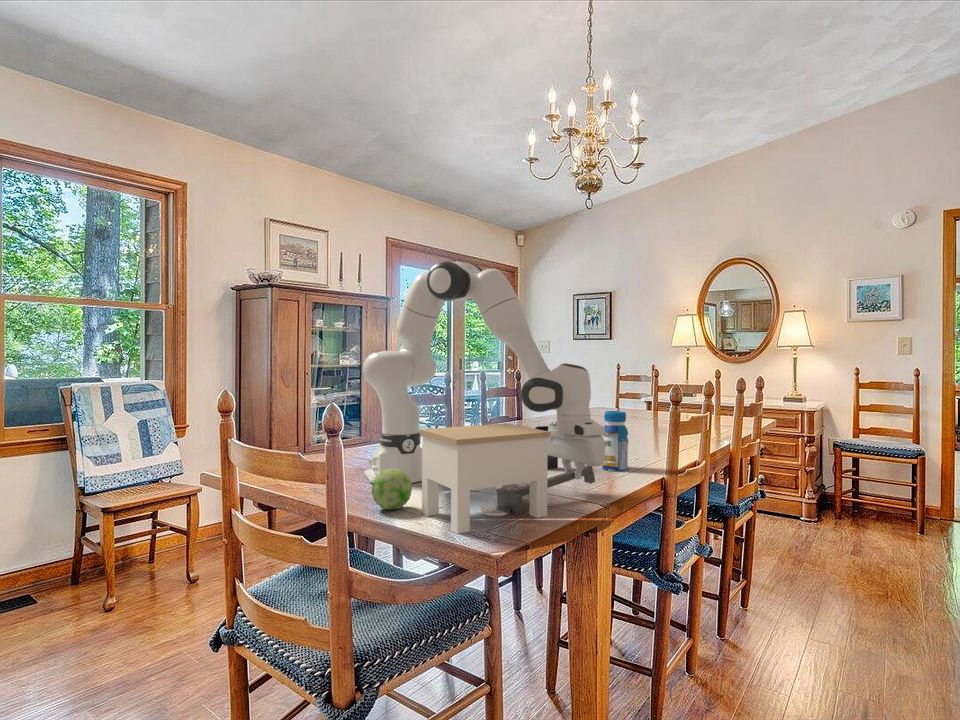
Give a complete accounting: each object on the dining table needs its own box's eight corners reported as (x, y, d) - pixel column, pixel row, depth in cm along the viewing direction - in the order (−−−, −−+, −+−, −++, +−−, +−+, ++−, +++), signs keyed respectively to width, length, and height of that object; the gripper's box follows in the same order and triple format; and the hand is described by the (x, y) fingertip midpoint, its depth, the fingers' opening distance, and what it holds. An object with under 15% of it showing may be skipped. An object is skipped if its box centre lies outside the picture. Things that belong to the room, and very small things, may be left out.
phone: (556, 471, 183) (556, 425, 183) (557, 471, 182) (558, 426, 182) (533, 472, 181) (534, 426, 181) (535, 473, 180) (535, 426, 180)
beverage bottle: (631, 476, 176) (631, 413, 175) (604, 476, 176) (604, 413, 175) (624, 470, 184) (625, 410, 184) (599, 470, 184) (599, 410, 184)
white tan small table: (419, 512, 134) (419, 429, 134) (505, 499, 147) (506, 423, 147) (456, 534, 118) (456, 439, 118) (550, 517, 131) (550, 431, 130)
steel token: (475, 512, 135) (475, 507, 135) (500, 508, 139) (500, 503, 139) (490, 519, 129) (490, 514, 129) (515, 515, 133) (515, 510, 133)
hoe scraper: (518, 514, 132) (516, 497, 132) (498, 505, 140) (495, 489, 140) (603, 484, 146) (602, 468, 146) (580, 477, 154) (579, 462, 154)
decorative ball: (420, 508, 138) (420, 468, 138) (389, 517, 130) (389, 474, 130) (393, 501, 144) (393, 463, 144) (362, 509, 137) (363, 469, 137)
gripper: (539, 421, 154) (539, 471, 154) (590, 430, 136) (590, 486, 136) (557, 420, 157) (557, 469, 157) (609, 429, 140) (609, 483, 140)
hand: (573, 477), depth 147 cm, fingers closed on hoe scraper, 2 cm apart
